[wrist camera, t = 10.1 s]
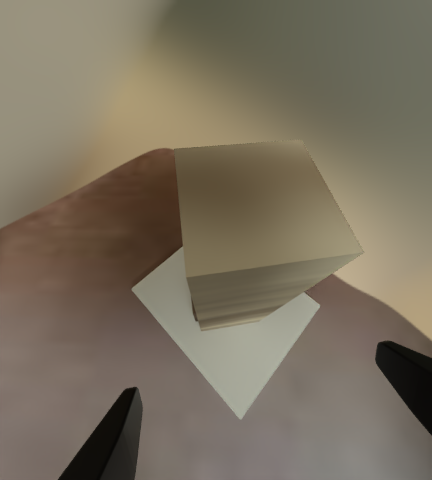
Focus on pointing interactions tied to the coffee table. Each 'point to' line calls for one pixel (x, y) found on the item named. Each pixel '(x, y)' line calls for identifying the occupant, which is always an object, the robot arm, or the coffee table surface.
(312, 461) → the coffee table surface
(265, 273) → the birch block
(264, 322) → the grey pad
